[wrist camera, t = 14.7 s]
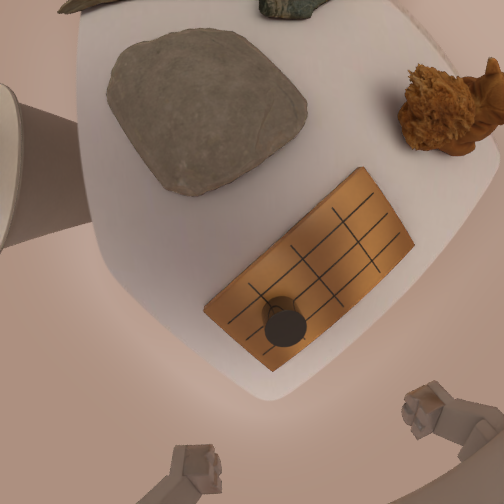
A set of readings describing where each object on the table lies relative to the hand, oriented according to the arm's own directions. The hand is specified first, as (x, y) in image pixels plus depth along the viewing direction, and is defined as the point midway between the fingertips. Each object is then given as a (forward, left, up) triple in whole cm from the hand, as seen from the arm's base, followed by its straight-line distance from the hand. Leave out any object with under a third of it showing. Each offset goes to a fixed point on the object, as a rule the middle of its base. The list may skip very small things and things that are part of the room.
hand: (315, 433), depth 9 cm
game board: (+5, +1, -18) cm, 18 cm away
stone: (-6, +18, -18) cm, 26 cm away
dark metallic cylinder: (+1, -2, -16) cm, 17 cm away
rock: (+1, +31, -18) cm, 36 cm away
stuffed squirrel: (+18, +18, -18) cm, 31 cm away
